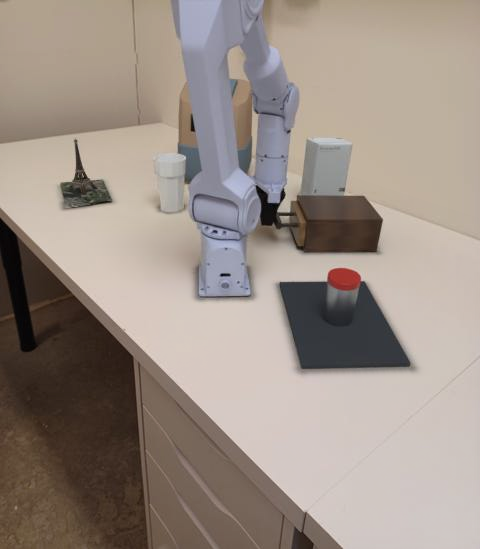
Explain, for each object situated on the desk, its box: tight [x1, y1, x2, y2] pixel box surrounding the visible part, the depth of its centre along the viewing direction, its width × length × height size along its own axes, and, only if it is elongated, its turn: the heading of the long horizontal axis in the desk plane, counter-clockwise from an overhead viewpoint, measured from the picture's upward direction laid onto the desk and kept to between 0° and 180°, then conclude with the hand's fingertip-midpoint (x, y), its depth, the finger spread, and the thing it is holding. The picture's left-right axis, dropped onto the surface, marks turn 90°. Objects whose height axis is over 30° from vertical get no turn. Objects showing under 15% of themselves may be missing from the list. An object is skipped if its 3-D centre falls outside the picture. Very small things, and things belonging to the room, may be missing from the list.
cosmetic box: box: [299, 137, 354, 196], centre depth 102 cm, size 8×6×15 cm
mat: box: [279, 280, 411, 370], centre depth 68 cm, size 20×14×1 cm
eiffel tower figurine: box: [60, 138, 113, 209], centre depth 105 cm, size 15×10×13 cm
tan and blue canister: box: [177, 78, 253, 184], centre depth 115 cm, size 17×17×23 cm
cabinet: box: [295, 194, 384, 253], centre depth 91 cm, size 14×12×7 cm
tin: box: [322, 267, 362, 326], centre depth 67 cm, size 4×4×7 cm
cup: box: [152, 152, 186, 213], centre depth 100 cm, size 7×7×11 cm
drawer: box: [273, 200, 307, 247], centre depth 90 cm, size 17×10×5 cm, turn 94°
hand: (266, 224), depth 90 cm, fingers closed, pressing on drawer
